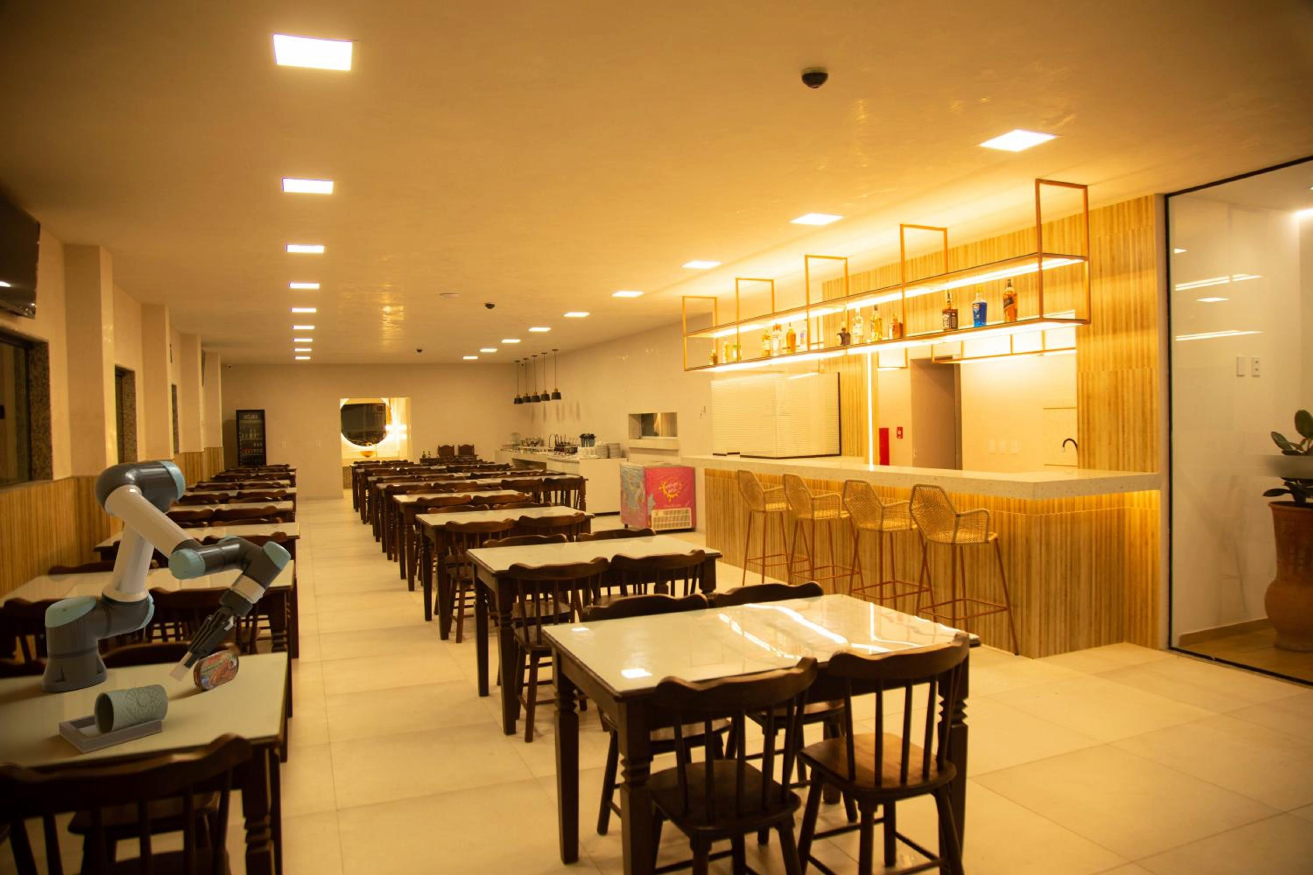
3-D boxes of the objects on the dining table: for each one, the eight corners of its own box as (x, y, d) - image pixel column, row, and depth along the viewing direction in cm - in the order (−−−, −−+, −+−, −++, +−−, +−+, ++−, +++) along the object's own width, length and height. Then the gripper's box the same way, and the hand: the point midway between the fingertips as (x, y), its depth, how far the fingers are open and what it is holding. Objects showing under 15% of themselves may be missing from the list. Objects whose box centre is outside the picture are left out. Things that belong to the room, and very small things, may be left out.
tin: (202, 693, 223) (200, 661, 223) (191, 693, 224) (189, 661, 224) (240, 675, 238) (239, 646, 238) (231, 675, 239) (229, 645, 239)
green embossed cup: (172, 690, 199) (116, 701, 189) (166, 731, 200) (110, 744, 190) (151, 675, 204) (96, 685, 195) (145, 715, 205) (90, 727, 195)
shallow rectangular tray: (59, 734, 197) (58, 722, 197) (134, 714, 209) (133, 704, 209) (83, 753, 184) (82, 741, 184) (162, 731, 196) (161, 720, 196)
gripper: (263, 607, 216) (197, 690, 204) (242, 602, 225) (177, 681, 213) (240, 591, 212) (171, 674, 200) (219, 585, 221) (152, 665, 209)
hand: (174, 678), depth 206 cm, fingers closed
